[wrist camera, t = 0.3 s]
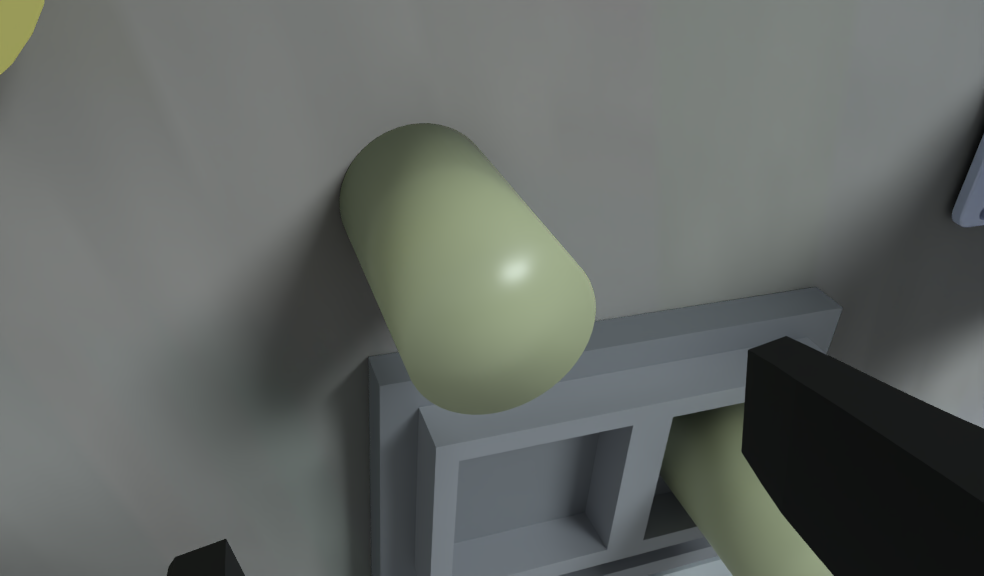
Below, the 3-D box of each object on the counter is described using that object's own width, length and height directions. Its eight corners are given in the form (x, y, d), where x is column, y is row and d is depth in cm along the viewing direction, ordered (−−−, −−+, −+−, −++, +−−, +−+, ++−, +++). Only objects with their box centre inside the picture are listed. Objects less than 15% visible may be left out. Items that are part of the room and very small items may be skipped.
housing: (816, 286, 25) (999, 430, 20) (722, 574, 32) (838, 738, 27) (368, 356, 21) (449, 567, 15) (373, 674, 28) (429, 894, 22)
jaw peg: (495, 118, 18) (608, 233, 14) (485, 256, 20) (582, 396, 16) (336, 128, 17) (405, 258, 13) (341, 274, 19) (402, 430, 15)
